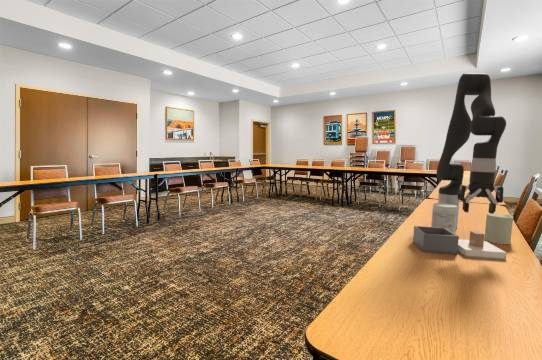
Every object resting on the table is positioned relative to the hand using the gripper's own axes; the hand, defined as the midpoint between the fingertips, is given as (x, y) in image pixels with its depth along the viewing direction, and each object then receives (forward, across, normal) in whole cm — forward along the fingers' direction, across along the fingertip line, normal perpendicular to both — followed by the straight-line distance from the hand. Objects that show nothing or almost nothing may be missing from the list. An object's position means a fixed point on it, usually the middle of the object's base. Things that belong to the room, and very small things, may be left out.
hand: (478, 212), depth 108 cm
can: (+16, -17, -17) cm, 28 cm away
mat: (+15, 0, 0) cm, 15 cm away
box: (+15, +14, 0) cm, 21 cm away
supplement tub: (+16, +4, -19) cm, 25 cm away
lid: (+15, 0, 0) cm, 15 cm away
